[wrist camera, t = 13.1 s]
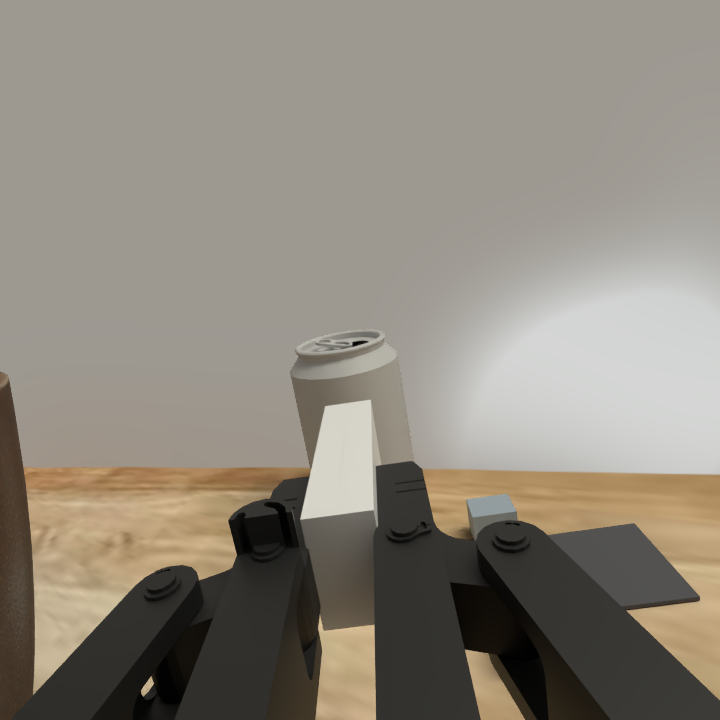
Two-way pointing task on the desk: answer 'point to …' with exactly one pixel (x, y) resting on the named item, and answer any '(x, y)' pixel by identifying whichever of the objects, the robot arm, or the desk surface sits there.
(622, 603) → the trap square
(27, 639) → the dark brown curved piece
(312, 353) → the can
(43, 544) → the desk surface
